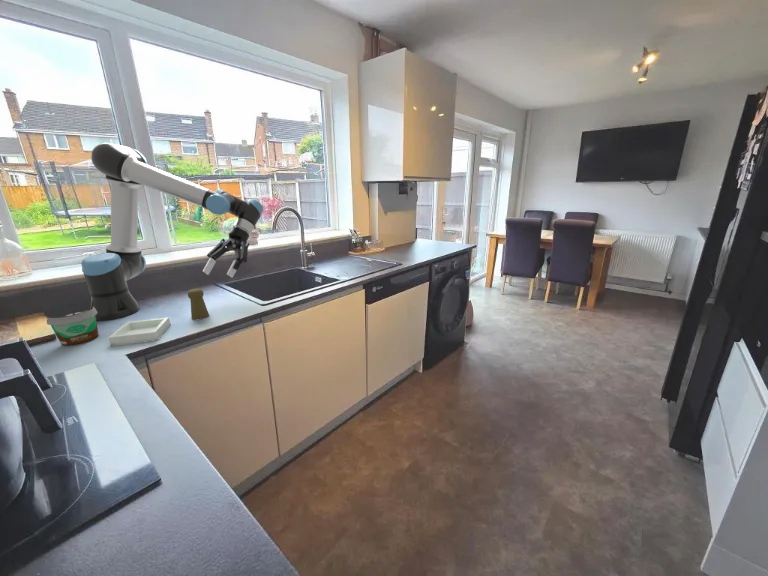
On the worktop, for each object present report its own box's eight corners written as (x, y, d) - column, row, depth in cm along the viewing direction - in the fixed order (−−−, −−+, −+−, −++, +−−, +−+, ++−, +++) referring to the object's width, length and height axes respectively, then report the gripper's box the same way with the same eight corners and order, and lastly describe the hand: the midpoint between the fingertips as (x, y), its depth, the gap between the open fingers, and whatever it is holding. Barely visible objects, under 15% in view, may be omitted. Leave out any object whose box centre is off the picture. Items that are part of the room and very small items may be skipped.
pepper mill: (201, 320, 121) (195, 292, 118) (187, 319, 122) (181, 291, 119) (212, 314, 127) (207, 287, 124) (199, 313, 128) (193, 286, 125)
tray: (129, 329, 114) (127, 321, 113) (170, 324, 117) (168, 317, 117) (110, 346, 102) (108, 337, 101) (157, 340, 106) (155, 332, 105)
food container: (61, 351, 99) (51, 321, 96) (55, 347, 102) (44, 317, 99) (110, 336, 109) (102, 308, 106) (103, 332, 112) (94, 305, 109)
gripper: (268, 238, 136) (246, 281, 128) (226, 235, 146) (202, 276, 137) (257, 227, 130) (233, 272, 121) (213, 225, 140) (188, 267, 131)
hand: (217, 274), depth 129 cm, fingers open, 13 cm apart
